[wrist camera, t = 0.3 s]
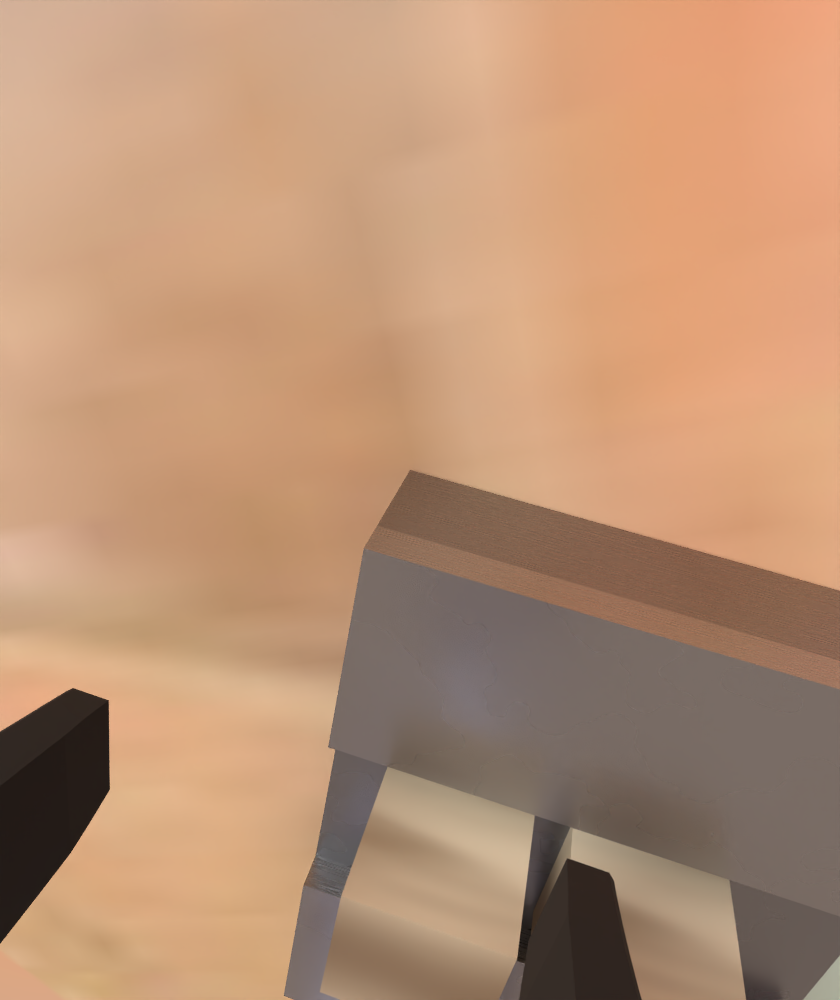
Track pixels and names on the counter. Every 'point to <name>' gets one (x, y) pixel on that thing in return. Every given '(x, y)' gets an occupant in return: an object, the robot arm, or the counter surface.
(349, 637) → the slotted plate
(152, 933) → the counter surface
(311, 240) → the counter surface
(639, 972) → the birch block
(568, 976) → the robot arm
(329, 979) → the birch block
